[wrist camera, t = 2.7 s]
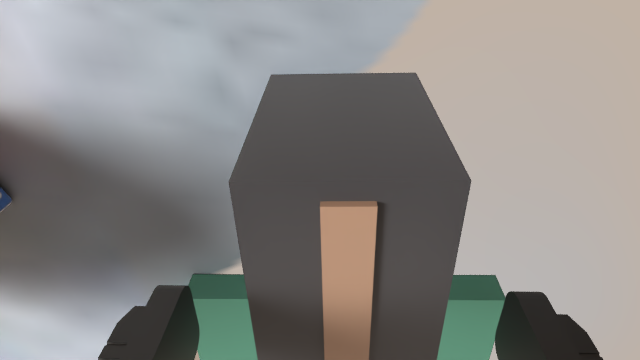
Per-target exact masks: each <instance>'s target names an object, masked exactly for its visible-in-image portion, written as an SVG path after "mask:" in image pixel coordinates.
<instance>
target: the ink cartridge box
mask: <svg viewBox="0 0 640 360" xmlns="http://www.w3.org/2000/svg"><path fill="white" fill-rule="evenodd" d="M11 203H12V199H11V197H10V196H9V195H7V194H6V193H5V191H4V190H3V189H2V188H1V187H0V213H1V212H2V211H3V210H4V209H5V208H7V207H8V206H9V205H10V204H11Z"/></svg>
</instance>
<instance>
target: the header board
mask: <svg viewBox="0 0 640 360" xmlns="http://www.w3.org/2000/svg"><path fill="white" fill-rule="evenodd" d="M188 286H189V287H190V289H191V293H192V297H193V301H194V306H195V310H196V314H197V318H198V323H199V329H200V336H199V344H198V349H197V350H198V354H199V358H200V360H258V359H257V353H256V347H255V341H254V334H253V328H252V322H251V316H250V310H249V304H248V298H247V291H246V285H245V279H244V275H240V274H237V275H236V274H193V275H192V278H191V280H190V283H189V285H188ZM504 302H505V296H504V293H503V291H502V289H501V287H500V285H499V282H498V280H497V278H496V276H495V275H453V278H452V283H451V288H450V294H449V299H448V304H447V309H446V314H445V320H444V325H443V330H442V335H441V341H440V346H439V351H438V356H437V360H489V358H490V354H491V351H492V348H493V344H494V341H495V334H496V329H497V326H498V322H499V319H500V315H501V312H502V309H503V305H504Z"/></svg>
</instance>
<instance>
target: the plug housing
mask: <svg viewBox="0 0 640 360" xmlns="http://www.w3.org/2000/svg"><path fill="white" fill-rule="evenodd" d="M470 184H471V179H470V177H469V175H468V174H467V171H466V170H465V168H464V166H463V164H462V162H461V160H460V158H459V156H458V154H457V152H456V150H455V148H454V146H453V144H452V142H451V141H450V138H449V137H448V135H447V133H446V131H445V129H444V127H443V125H442V123H441V121H440V119H439V117H438V115H437V113H436V111H435V109H434V107H433V105H432V103H431V101H430V100H429V98H428V96H427V94H426V92H425V90H424V88H423V86H422V84H421V82H420V80H419V78H418V76H417V74H416V73H363V74H296V75H271V76H270V79H269V81H268V84H267V86H266V89H265V91H264V94H263V96H262V99H261V102H260V104H259V107H258V109H257V112H256V114H255V117H254V119H253V122H252V124H251V127H250V129H249V132H248V134H247V137H246V140H245V142H244V145H243V147H242V150H241V152H240V155H239V157H238V160H237V162H236V165H235V167H234V170H233V172H232V175H231V178H230V180H229V187H230V193H231V199H232V205H233V211H234V218H235V224H236V230H237V236H238V242H239V248H240V254H241V261H242V267H243V273H244V279H245V285H246V291H247V298H248V304H249V310H250V316H251V322H252V328H253V334H254V341H255V347H256V353H257V359H258V360H437V356H438V351H439V346H440V341H441V335H442V330H443V325H444V320H445V314H446V309H447V304H448V299H449V294H450V288H451V283H452V278H453V273H454V267H455V262H456V257H457V252H458V247H459V242H460V236H461V231H462V226H463V221H464V216H465V210H466V205H467V200H468V195H469V190H470Z"/></svg>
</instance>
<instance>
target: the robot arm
mask: <svg viewBox="0 0 640 360" xmlns="http://www.w3.org/2000/svg"><path fill="white" fill-rule="evenodd" d="M199 336H200V329H199V323H198V318H197V314H196V310H195V306H194V301H193V297H192V293H191V289H190V287H189V286H173V285H159V286H157V287H156V288H155V289H154V291H153V293H152V295H151V297H150V299H149V301H148V303H147V305H146V306H135V307H134V308H133V309H131V310H130V311H129V312H128V313H127V314H126V315H125V316H124V317H123V318H122V319H121V320H120V321H119V322H118V323H117V325H116V327H115V328H114V330H113V332H112V334H111V336H110V337H109V339H108V341H107V345H106V346H104V348H103V350H102V352H101V354H100V355H99V357H98V360H194V358H195V355H196V352H197V349H198V344H199ZM495 346H496V353H497V356H498V359H499V360H603V358H602V357H600V356H599V352H598V350H597V348H596V347H595V345H594V344H593V342H592V340H591V339H590V337H589V335H588V334H587V332H585V330H583V329H582V328H581V327H580V326H579V325H578V324H577V323H576V322H575V321H573V320H572V319H571V318H570V317H569V316H568V315H561V314H560V315H559V314H558V315H557V314H556V312H555V311H554V309H553V307H552V305H551V304H550V302H549V300H548V298H547V297H546V295H545V294H544V293H542V292H508V294H507V295H506V298H505V302H504V305H503V309H502V312H501V315H500V319H499V322H498V326H497V329H496V334H495Z"/></svg>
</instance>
